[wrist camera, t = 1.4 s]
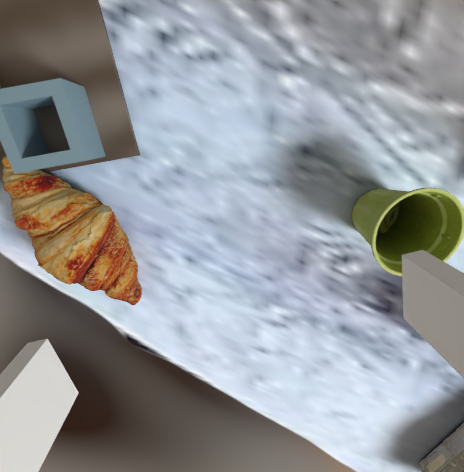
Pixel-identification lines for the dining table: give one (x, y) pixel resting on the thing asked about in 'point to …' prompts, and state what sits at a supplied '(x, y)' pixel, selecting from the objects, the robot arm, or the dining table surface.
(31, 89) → the socket
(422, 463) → the olive toy tank
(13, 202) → the croissant
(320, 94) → the dining table surface
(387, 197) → the plant pot
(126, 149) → the board
